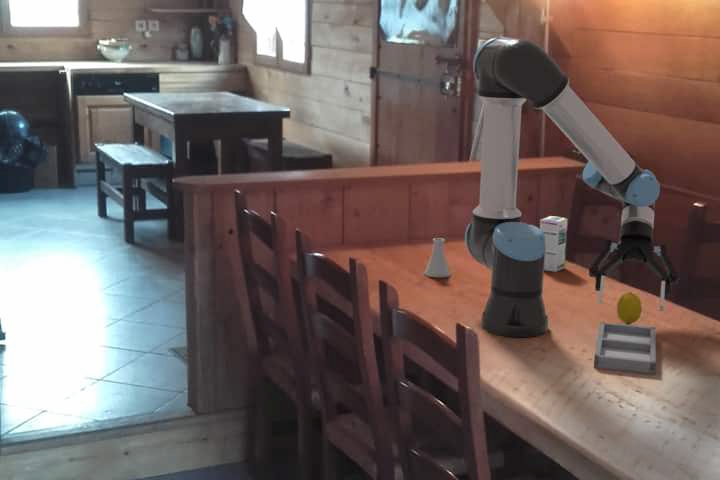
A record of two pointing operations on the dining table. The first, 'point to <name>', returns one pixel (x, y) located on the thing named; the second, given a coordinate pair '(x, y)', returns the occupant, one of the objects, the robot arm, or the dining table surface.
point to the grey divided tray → (626, 348)
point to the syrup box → (554, 242)
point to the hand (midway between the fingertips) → (630, 305)
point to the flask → (437, 261)
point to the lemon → (629, 308)
